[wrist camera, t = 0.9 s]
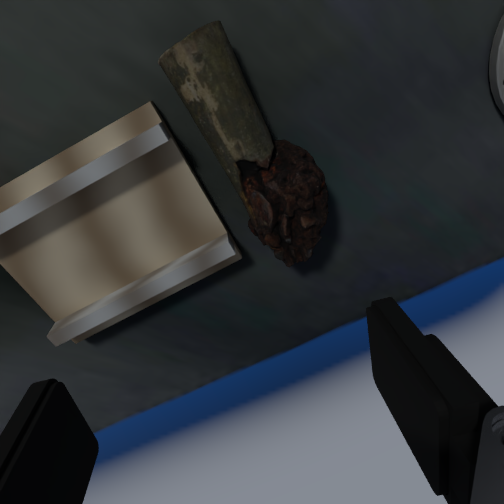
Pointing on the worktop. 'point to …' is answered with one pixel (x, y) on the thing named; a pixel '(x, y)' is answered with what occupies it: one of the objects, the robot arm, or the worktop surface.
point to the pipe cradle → (110, 227)
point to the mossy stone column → (249, 145)
